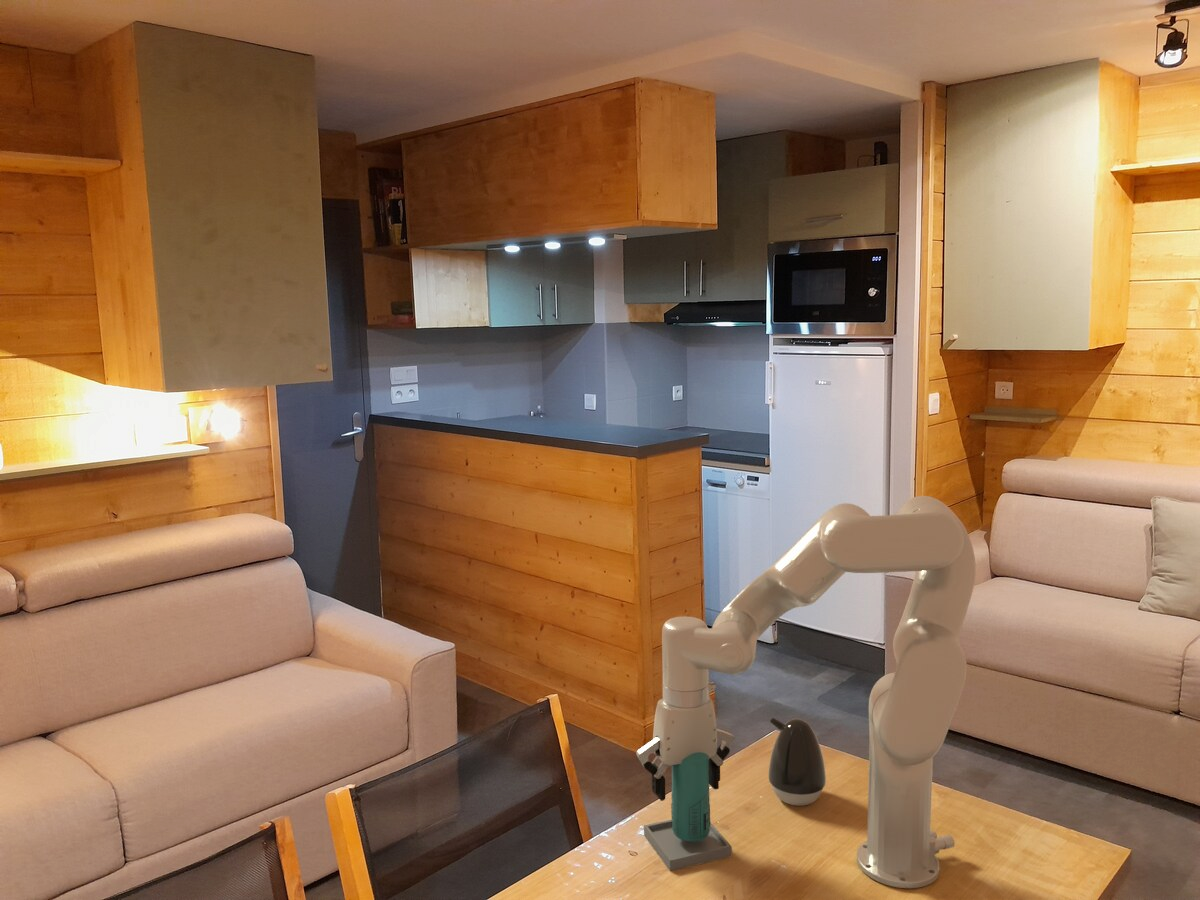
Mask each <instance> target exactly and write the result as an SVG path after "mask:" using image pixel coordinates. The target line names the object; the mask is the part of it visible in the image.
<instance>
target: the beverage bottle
mask: <svg viewBox="0 0 1200 900" xmlns="http://www.w3.org/2000/svg"><path fill="white" fill-rule="evenodd" d="M709 781H710V780H709V756H708V755H707V754H705V753H701V752H697V753H693V754H691V755H689V756H687V757H686V758H684V759H683V760H682V762H681V764H677V765H671V798H670V799H671V807H670V808H671V819H672V820H671V819H670V820H671V821H672V827H673V832H674V834H675V836H676V837H678V838H679V839H681V840H684V841H690V842H694V841H700V840H703V839H705V838H706V837H707V836H708V834H709V832H710V831H709V830H710V828H711V825H710V823H712V822H711V802H710V801H711V798H710V787H711V785H710V784H709Z"/></svg>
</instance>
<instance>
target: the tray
mask: <svg viewBox="0 0 1200 900" xmlns="http://www.w3.org/2000/svg"><path fill="white" fill-rule="evenodd" d="M671 820H672V818H671V819H668V820H663V821H659V822H654V823H653V822H652V823H650V824H645V825H643V836H644V837H645V838H646V840H647V841H648V842H649V844H650V846H651V847H652V848H653V850H654V851H655V852H656V854H657V855H658V857H659V858H660V859H661V860H662V862H663V863H664V865H665V866H666V867H667V869H668V870H669V871H670V872H671V871H676V870H680V869H684V868H688V867H693V866H697V865H701V864H705V863H709V862H714V861H717V860H718V861H719V860H722V859H726V858H730V856H731V857H732V845H731V844H730V843H729V842H728V841H727V839H726V838H725V837H724V836H723V835H722V834H721V833H720V831H719V830H718V829H717V828H716V827H715V825H714V824H713V823H712V822H711V823H710V825H711V828H710V830H709V831H710V832H709V834H708V836H707V837H706V838H705V839H703V840H700V841H694V842H690V841H684V840H681V839H679V838H678V837H676V836H675V834H674V832H673V827H672V821H671ZM725 857H726V858H725Z"/></svg>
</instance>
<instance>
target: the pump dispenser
mask: <svg viewBox="0 0 1200 900" xmlns="http://www.w3.org/2000/svg"><path fill="white" fill-rule="evenodd" d="M769 722H770V724H772V725H773V726H774V727H775V728H777V729H778V730H779V733H778V735H777V737H776V738H775V739H776V740H775V742H774V745H773V747H772V750H771V755H770V760H769V765H768V766H769V767H768V781H769V783H770V785H771V788H772V791H773V792H774V793H773V794H775V795H776V797H778V799H779V800H780V801H782V802H784V803H785V804H788V805H792V806H796V807H797V806H798V807H799V806H800V807H801V806H807V805H810V804H811V805H812V804H813V803H814V802H816V800H818V799H819V797H821V794H822V792H823V789H824V788H825V786H826V782H827V781H826V778H827V777H826V768H825V762H824V756H823V752H822V749H821V746H820V742H819V740H818V737H817V735H816V732H815V731H814V729H813V728H812V725H810V723H808V721H806V720H803V719H801V718H792V719H790V720H788V721H786V723H784V722H782V721H780V720H778V719H777V718H775V717H771V718H770V719H769Z"/></svg>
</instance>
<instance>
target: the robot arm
mask: <svg viewBox="0 0 1200 900" xmlns="http://www.w3.org/2000/svg"><path fill="white" fill-rule="evenodd" d="M976 569H977V567H976V556H975V551H974V548H973V544H972V541H971V538H970V536H969V533H968V531H967V529H966V527H965V526H964V524H963V522H962V521H961V520H960V518H959V517H958V516H957V514H955V513H954V511H953V510H952V509H951V508H950V507H949V506H948V505H947V504H946V503H944V502H943V501H941V500H939V499H938V498H935V497H932V496H928V495H918V496H914V497H912V498H910V499H907V501H906V502H904V504H903V505H902V506H901V507H900V509H899V510H898V512H897V514H890V515H889V514H887V515H870V514H869V513H868V512H867V511H866V509H864V508H863V507H860V506H859V505H856V504H854V503H846V502H845V503H840V504H837V505H834V506H833V507H831V508H829V509H828V510H827V511H826V512H825V513H824V514H823V515H821V517H819V519H818V520H817V521H816V522H815V523H814V524H812V526H811V527H810V528H809V529H808V530H806V532H805V533H804V534H803V535H802V536H801V537H800V538H799V539H798V540H797V541H796V542H795V543H794V544H793V545H792V546H791V547H790V548H789V549H788V550H787V551H786V552H784V553H783V555H781V557H780V558H779V559H777V560H776V561H775V562H774V564H772V565H771V566H769V567H768V568H767V569H765V570H764V571H763V572H762V573H761V574H760V575H759V576H757V577H756V578H755V579H754V580H752V581H751V582H750V583H749V584H748V585H746V586H745V588H743V589H742V590H741V591H740V592H739V593H738V594H737V595H736V596H735V597H734V598H733V599H732V600H731V601H730V603H728V604H727V605H726V606H725V607H724V608H723V609H722V611H720V613H719V614H718V615H717V617H716V618H715V620H714V622H713V624H712V627H711V628H709V627H708V625H707V623H706V622H705V621H704V620H702V619H701V618H697V617H694V616H686V615H684V616H676V617H672V618H669V619H668V620H666V621H665V622H664V624H663V625H662V628H661V651H662V653H661V655H662V656H661V658H662V661H661V663H662V698H660V699H659V700H658V701H657V704H656V707H655V713H654V714H655V715H654V721H653V723H654V724H653V732H652V733H653V734H652V739H651V741H649V742H647V743H646V744H645V745H643V746H641V748H638V750H637V751H636V752H635V754H636V756H637V758H638V760H639V762H640V763H641V766H643V768H644V769H645V770H646V771H648V772H649V773H650V774H651V791H652V792H653V794H654V795H655V796H656V797H657V798H658V799H659V800H660V801H661V802H662V801H665V800H666V778H665V776H664V774H665V773H666V770H667V769H668V768H669V766H672V765H677V764H681V762H682V760H683V759H684V758H686V757H687V756H689V755H691V754H693V753H697V752H701V753H705V754H707V755H708V756H709V780H710V781H709V786H710V787H712V789H713V790H719V787H720V786H719V784H720V783H719V782H720V781H721V766H723V765H724V760H725V759H726V758H727V756H728V755H729V754H730V752H731V750H730V749H731V748H732V745H733V744H734V741H735V739H736V737H735V735H733V734H732V733H730V732H729V731H728V732H727V731H726V730H725V731H724V730H722V729H719V728H718V727H717V718H716V714H715V709H714V708H715V706H714V703H713V700H712V698H711V693H710V692H712V691H714V690H716V689H717V687H716V686H717V685H716V683H715V681H709V680H710V679H709V678H710V677H709V676H710V675H709V674H710V673H709V671H713V672H717V673H719V674H720V673H721V674H727V675H739V674H742V673H745V672H746V671H747V670H749V669H750V668H751V667H752V665H753V664H754V660H755V659H756V653H757V641H758V639H759V638H760V637H762V635H763V634H764V633H765V632H766V631H767V630H768V629H769V628H770V627H771V626H772V625H773V624H774V623H775V622H776V621H777V620H779V619H780V618H781V617H782V616H783V615H784V614H786V613H787V612H789V611H791V610H793V609H796V608H800V607H808V606H810V605H813V604H814V603H816V602H817V601H818V600H819V599H820V598H821V597H822V596H823V595H824V594H825V593H826V592H827V591H828V590H829V589H830V588H831V587H832V586H833V585H834V584H835V583H836V582H837V581H838V580H839V579H840V578H842V576H843V575H844V574H846V573H852V574H881V573H882V574H883V573H885V574H886V573H905V572H908V573H909V572H914V578H913V582H912V585H911V588H910V593H909V596H908V598H907V601H906V604H905V608H904V610H903V613H902V616H901V618H900V621H899V623H898V626H897V628H896V630H895V633H894V636H893V640H892V641H893V642H892V649H893V654H894V658H895V661H896V669H895V671H894V672H891V673H887V674H884V675H883V676H882V677H880V678H879V679H878V680H877V681H876V682H875V683H874V685H873V687H872V688H871V691H870V694H869V698H868V726H869V727H868V728H869V731H868V732H869V739H868V740H869V755H868V756H869V759H868V761H869V762H868V763H869V764H868V786H867V787H868V791H867V792H868V793H867V795H868V796H867V801H868V802H867V834H866V835H867V836H866V838H867V839H866V841H865V842H863V843H861V844H860V845H859V847H858V849H857V851H856V862H857V865H858V866H859V868H860V870H861V871H862V872H863V873H864V874H865V875H867V876H868V877H869V878H871V879H872V880H874V881H876V882H878V883H881V884H882V885H886V886H889V887H893V888H900V889H918V888H922V887H923V888H924V887H926V886H929V885H930V884H932V883H933V882H935V881H936V880H937V879H938V877H939V875H940V862H939V859H938V858H937V857H936V854H939V852H940V851H942V850H946V849H951V848H954V847H955V839H954V837H953V836H951V835H950V834H947V835H946V834H945V835H941V836H939V837H938V835H937V832H936V831H935V830H933V829H932V830H931V823H932V820H931V818H932V817H931V816H932V813H931V812H932V795H933V794H932V792H933V791H932V790H933V766H934V764H933V763H934V756H935V755H936V754H937V753H938V752H939V751H940V749H941V747H942V745H943V743H944V742H945V740H946V737H947V734H948V732H949V728H950V725H951V723H952V720H953V719H954V716H955V712H956V710H957V708H958V707H957V706H958V705H959V701H960V698H961V696H962V693H963V691H964V687H965V684H966V679H967V678H966V677H967V670H968V669H967V668H968V667H967V665H968V664H967V659H966V656H965V655H966V654H965V652H964V650H963V648H962V646H961V643H960V636H961V631H962V628H963V625H964V621H965V618H966V616H967V612H968V609H969V605H970V602H971V599H972V595H973V591H974V589H975V581H976V573H977V571H976ZM718 739H719V740H721V743H720V745H719V746H718V744H719V743H718V741H719V740H718ZM652 754H654V755H656V756H655V758H654V759H653V761H650V760H649V756H651V755H652Z"/></svg>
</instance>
